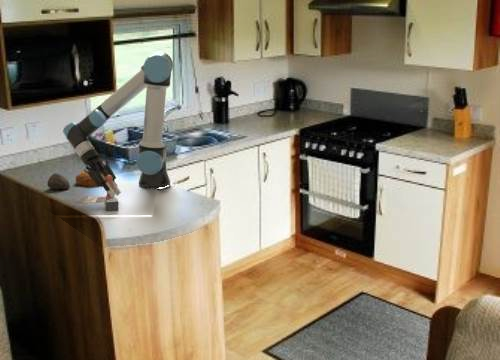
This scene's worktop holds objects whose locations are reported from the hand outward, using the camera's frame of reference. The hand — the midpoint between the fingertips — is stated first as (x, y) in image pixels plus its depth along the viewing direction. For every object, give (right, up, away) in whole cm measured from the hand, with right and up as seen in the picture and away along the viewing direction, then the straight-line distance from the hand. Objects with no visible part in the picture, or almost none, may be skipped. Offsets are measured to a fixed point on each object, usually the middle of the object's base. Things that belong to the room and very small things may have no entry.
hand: (116, 194), depth 273 cm
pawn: (-3, -2, +3) cm, 4 cm away
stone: (-32, +2, +20) cm, 38 cm away
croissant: (-18, +4, +29) cm, 34 cm away
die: (0, -7, -9) cm, 11 cm away
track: (-9, -3, +3) cm, 10 cm away
